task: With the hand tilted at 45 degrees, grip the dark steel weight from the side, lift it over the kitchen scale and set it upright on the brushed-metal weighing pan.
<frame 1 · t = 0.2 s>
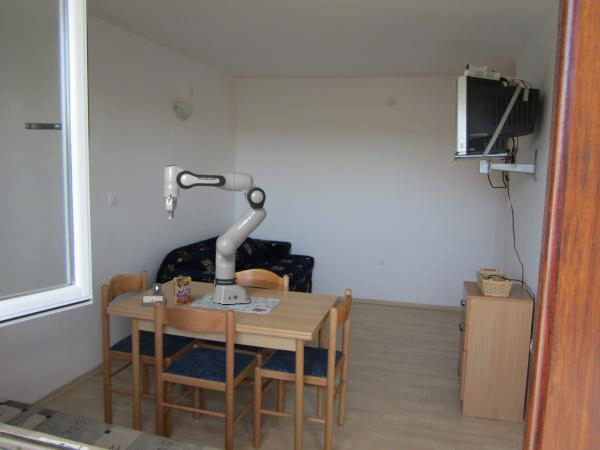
hand: (171, 218, 259), 48 cm above the table, tool pointing down, fingers open, 8 cm apart
scale: (154, 303, 257), on the table
steel weight: (157, 297, 271), on the table
candy box: (181, 304, 259), on the table
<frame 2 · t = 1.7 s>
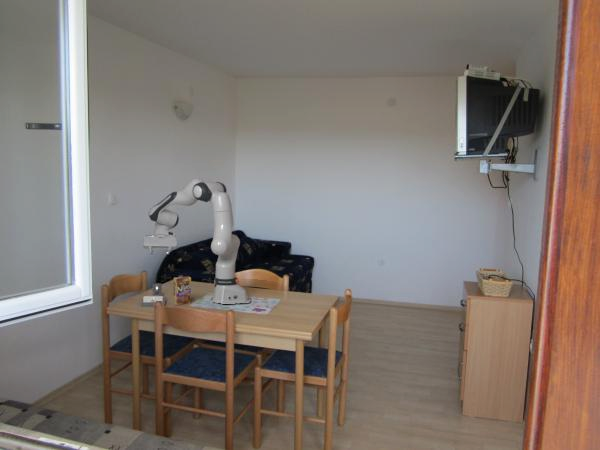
hand: (159, 253, 280), 24 cm above the table, tool tilted 45°, fingers open, 8 cm apart
nothing on the table moved.
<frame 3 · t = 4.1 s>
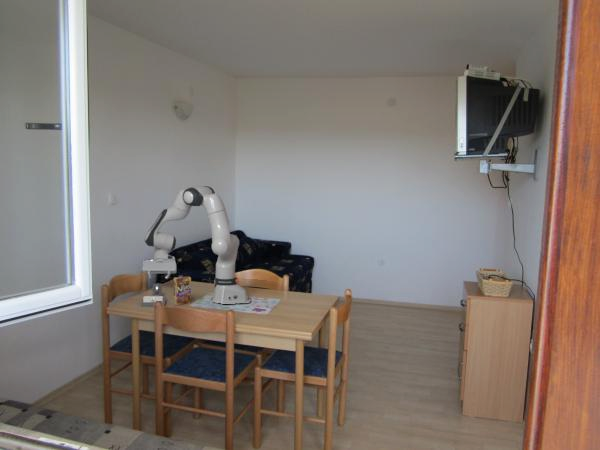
hand: (158, 278, 276), 10 cm above the table, tool tilted 45°, fingers open, 8 cm apart
nothing on the table moved.
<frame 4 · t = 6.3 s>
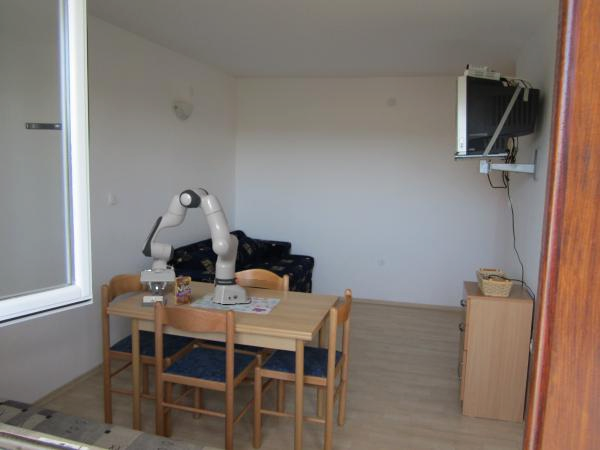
hand: (157, 289, 270), 5 cm above the table, tool tilted 45°, fingers closed on steel weight, 5 cm apart
steel weight: (157, 297, 271), on the table, touching gripper
everything else where it was.
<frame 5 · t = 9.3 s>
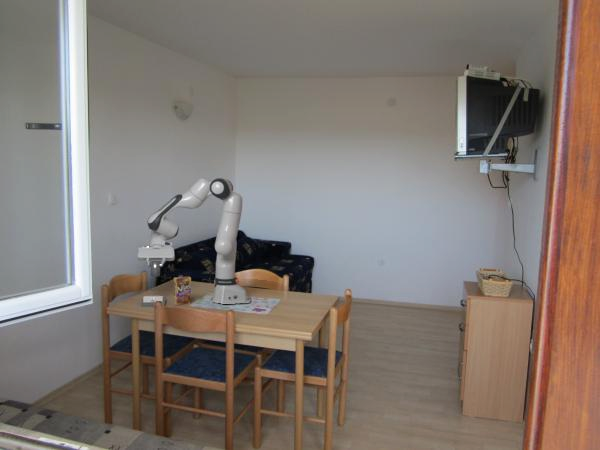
hand: (155, 266, 257), 21 cm above the table, tool tilted 45°, fingers closed on steel weight, 5 cm apart
steel weight: (155, 275, 258), point 15 cm above the table, touching gripper
everything else where it was.
when the fingers open (10 cm above the table, at t = 12.7 s): steel weight stays where it is, resting on scale.
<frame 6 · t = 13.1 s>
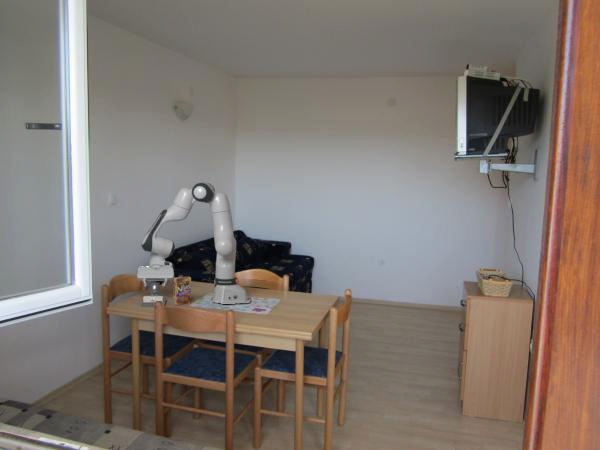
hand: (154, 286, 257), 10 cm above the table, tool tilted 45°, fingers open, 8 cm apart
steel weight: (154, 297, 258), point 3 cm above the table, touching scale
everything else where it was.
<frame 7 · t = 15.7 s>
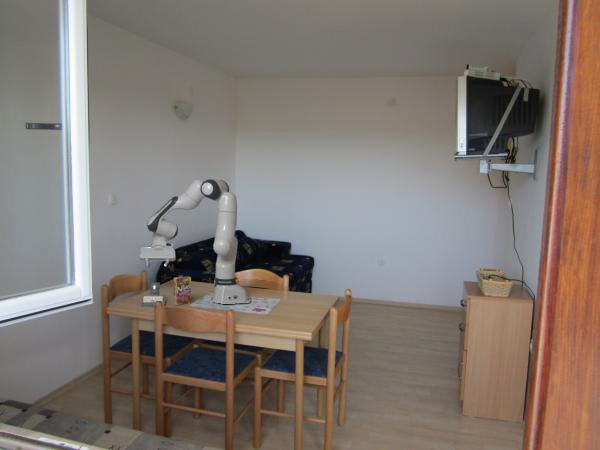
hand: (156, 266, 266), 19 cm above the table, tool tilted 45°, fingers open, 8 cm apart
nothing on the table moved.
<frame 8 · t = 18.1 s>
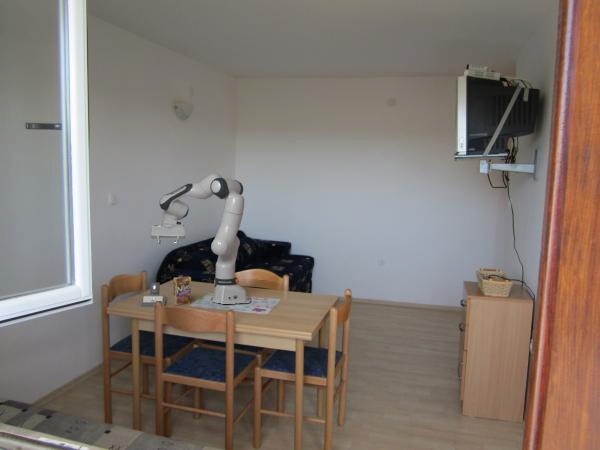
hand: (167, 243, 274), 31 cm above the table, tool tilted 45°, fingers open, 8 cm apart
nothing on the table moved.
at the end: steel weight 0.1 cm from the target spot on the scale, point 3.3 cm above the scale's base; steel weight tilted 0°; the gripper is holding nothing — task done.
